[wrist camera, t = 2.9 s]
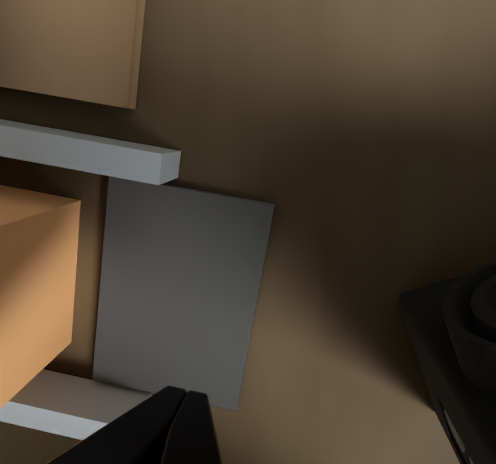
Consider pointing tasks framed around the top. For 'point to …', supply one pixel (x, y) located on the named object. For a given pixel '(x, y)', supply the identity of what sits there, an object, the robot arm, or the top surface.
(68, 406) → the channel
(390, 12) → the top surface
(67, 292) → the block
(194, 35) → the top surface
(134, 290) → the mat
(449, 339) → the digital camera
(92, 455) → the robot arm
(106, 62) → the coaster
